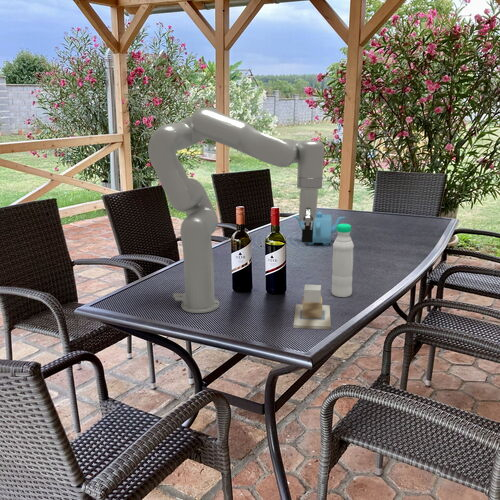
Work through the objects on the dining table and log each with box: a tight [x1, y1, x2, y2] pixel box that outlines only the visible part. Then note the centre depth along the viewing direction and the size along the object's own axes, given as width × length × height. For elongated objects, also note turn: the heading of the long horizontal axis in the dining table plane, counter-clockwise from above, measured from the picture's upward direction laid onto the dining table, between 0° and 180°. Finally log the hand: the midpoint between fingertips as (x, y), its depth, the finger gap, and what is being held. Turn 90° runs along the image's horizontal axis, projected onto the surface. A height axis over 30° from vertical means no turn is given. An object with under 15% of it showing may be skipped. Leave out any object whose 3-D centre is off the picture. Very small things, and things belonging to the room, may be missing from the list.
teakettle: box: [292, 210, 346, 247], centre depth 250 cm, size 19×19×15 cm
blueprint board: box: [293, 303, 332, 331], centre depth 162 cm, size 11×17×1 cm, turn 173°
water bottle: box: [331, 223, 355, 298], centre depth 179 cm, size 7×7×25 cm
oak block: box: [302, 295, 323, 319], centre depth 162 cm, size 6×6×5 cm
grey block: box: [303, 284, 322, 303], centre depth 160 cm, size 5×5×4 cm
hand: (307, 238), depth 161 cm, fingers open, 9 cm apart
